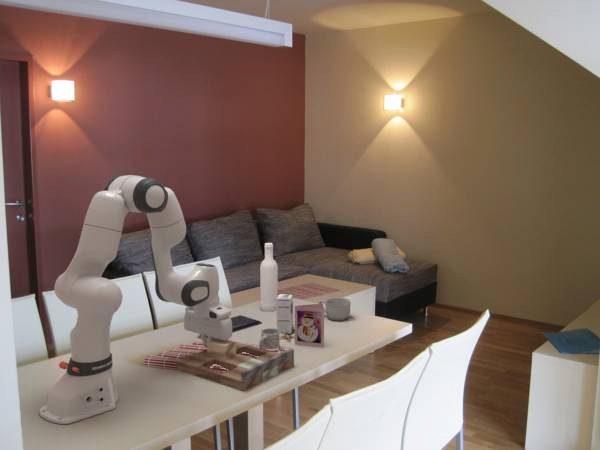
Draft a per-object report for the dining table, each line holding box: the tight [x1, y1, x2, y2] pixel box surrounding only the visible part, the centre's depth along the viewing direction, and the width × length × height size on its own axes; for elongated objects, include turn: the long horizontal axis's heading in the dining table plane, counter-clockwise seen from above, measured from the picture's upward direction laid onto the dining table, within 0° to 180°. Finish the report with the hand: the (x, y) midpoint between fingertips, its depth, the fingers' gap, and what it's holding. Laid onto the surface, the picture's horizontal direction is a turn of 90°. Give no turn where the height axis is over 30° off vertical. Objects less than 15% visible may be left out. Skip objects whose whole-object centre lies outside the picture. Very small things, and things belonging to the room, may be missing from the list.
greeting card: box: [294, 302, 325, 348], centre depth 239 cm, size 11×7×15 cm, turn 73°
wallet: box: [230, 314, 263, 334], centre depth 262 cm, size 20×2×15 cm
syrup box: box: [276, 293, 294, 334], centre depth 253 cm, size 6×6×14 cm
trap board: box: [176, 341, 295, 392], centre depth 216 cm, size 26×30×6 cm
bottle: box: [259, 242, 279, 312], centre depth 282 cm, size 8×8×30 cm
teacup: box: [318, 296, 352, 322], centre depth 271 cm, size 14×11×8 cm
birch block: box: [206, 338, 237, 360], centre depth 219 cm, size 6×8×5 cm
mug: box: [259, 328, 280, 350], centre depth 233 cm, size 10×7×7 cm, turn 149°
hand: (207, 346), depth 223 cm, fingers closed
